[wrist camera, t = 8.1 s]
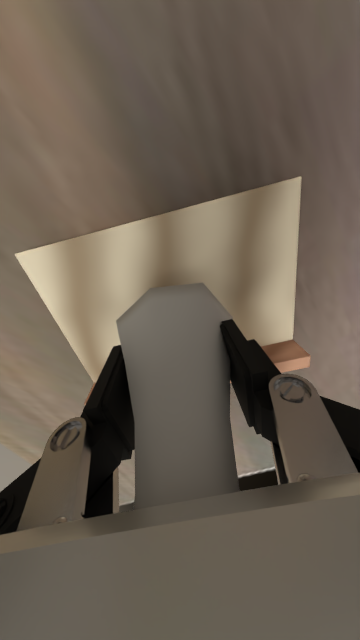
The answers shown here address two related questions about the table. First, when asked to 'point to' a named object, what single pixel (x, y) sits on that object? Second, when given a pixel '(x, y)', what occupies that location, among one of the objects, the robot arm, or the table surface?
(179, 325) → the flask
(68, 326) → the shelf board
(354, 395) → the table surface
